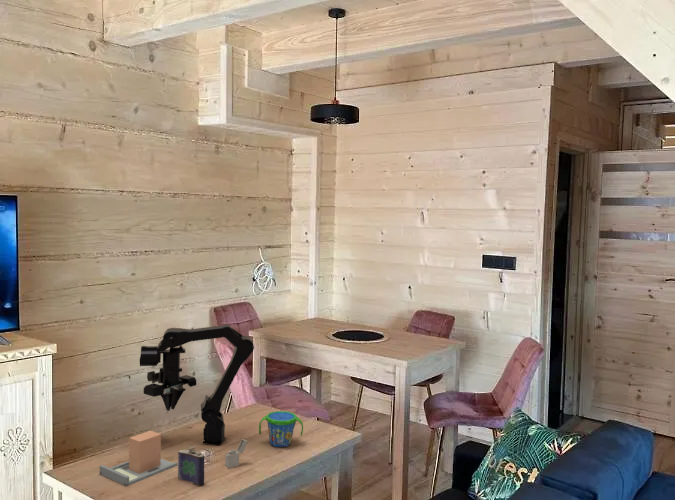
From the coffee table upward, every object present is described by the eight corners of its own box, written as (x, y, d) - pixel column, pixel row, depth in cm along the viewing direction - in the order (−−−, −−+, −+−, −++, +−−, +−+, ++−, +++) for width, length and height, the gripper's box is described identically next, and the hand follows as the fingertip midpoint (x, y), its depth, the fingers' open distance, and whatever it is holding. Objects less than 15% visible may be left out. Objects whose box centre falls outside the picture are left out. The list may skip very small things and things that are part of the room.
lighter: (227, 468, 191) (228, 444, 191) (225, 467, 192) (225, 442, 192) (247, 463, 196) (247, 439, 195) (244, 461, 197) (245, 437, 196)
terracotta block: (150, 461, 194) (150, 430, 193) (160, 465, 191) (161, 434, 190) (128, 469, 187) (129, 437, 186) (139, 473, 184) (139, 441, 184)
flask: (175, 480, 182) (176, 445, 181) (182, 476, 185) (183, 442, 184) (200, 487, 178) (201, 451, 177) (206, 483, 181) (207, 448, 180)
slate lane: (151, 456, 199) (151, 447, 199) (177, 466, 191) (177, 457, 191) (99, 475, 183) (99, 465, 183) (126, 487, 176) (126, 477, 176)
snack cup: (304, 439, 218) (305, 412, 217) (300, 451, 207) (301, 422, 207) (261, 437, 219) (262, 409, 218) (255, 448, 208) (256, 419, 208)
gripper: (176, 356, 220) (176, 398, 221) (133, 366, 205) (132, 411, 206) (198, 362, 214) (197, 405, 215) (154, 372, 198) (153, 418, 199)
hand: (170, 409), depth 209 cm, fingers closed
